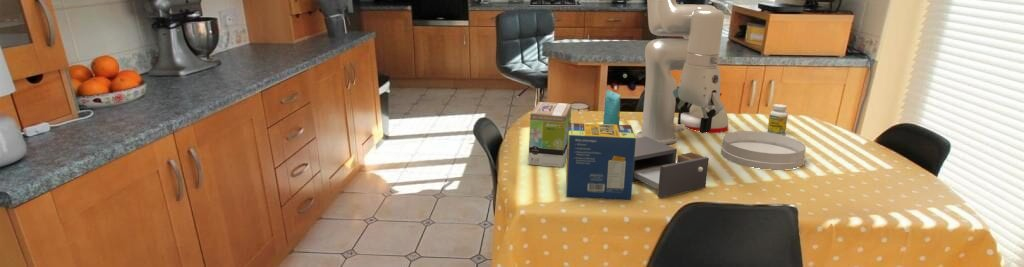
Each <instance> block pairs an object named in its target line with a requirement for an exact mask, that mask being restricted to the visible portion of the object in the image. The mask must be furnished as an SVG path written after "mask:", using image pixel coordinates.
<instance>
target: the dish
mask: <svg viewBox="0 0 1024 267" xmlns="http://www.w3.org/2000/svg"><path fill="white" fill-rule="evenodd" d="M720 147H721V148H720V155H721V156H722V157H723V159H726V160H727V161H729V162H731V163H734V164H736V165H739V164H740V165H739V166H742V165H744V166H743V167H746V166H747V168H750V167H754V168H753V169H755V168H760V169H759V170H763V169H771V170H770V171H774V170H784V171H786V170H785V169H793V168H797V167H800V166H801V165H803V166H804V164H803V163H805V158H806V156H805V153H806V150H807V149H806V147H807V146H806V145H805V143H803V142H802V141H800V140H798V139H796V138H792V137H789V136H786V135H779V134H773V133H768V132H767V131H755V130H754V131H752V130H741V131H740V130H738V131H733V132H732V131H730V132H728V133H725V134H724V135H723V136H722V144H721V146H720ZM800 168H801V167H800ZM793 170H794V169H793Z"/></svg>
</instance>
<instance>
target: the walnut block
mask: <svg viewBox="0 0 1024 267" xmlns="http://www.w3.org/2000/svg"><path fill="white" fill-rule="evenodd" d="M702 157H704V156H702V155H699V154H698V153H695V152H687V153H686V152H685V153H681V154H677V156H676V163H677V162H682V161H687V160H692V159H697V158H702Z"/></svg>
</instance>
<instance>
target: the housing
mask: <svg viewBox="0 0 1024 267" xmlns="http://www.w3.org/2000/svg"><path fill="white" fill-rule="evenodd" d="M635 138H636V143H635V156H634V168H633V176H634V171H635V170H640V169H645V168H650V167H655V166H660V165H665V164H672V163H677V155H678V154H677V153H678V149H677V148H676V147H673V146H671V145H669V144H663V143H661V142H658V141H655V140H653V139H650V138H648V137H641V138H637V137H635ZM639 182H641V181H640V180H638V179H636V178H634V177H633V181H632V184H635V183H639Z"/></svg>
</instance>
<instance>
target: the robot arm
mask: <svg viewBox="0 0 1024 267" xmlns="http://www.w3.org/2000/svg"><path fill="white" fill-rule="evenodd" d="M646 1H647V22H648V29H649V32H650V33H651V34H653V36H661V37H683V38H656V39H652V40H651V41H649V42H648V43H647V44H646V46H645V50H644V60H645V86H644V87H645V88H644V97H643V98H644V101H643V111H642V112H643V113H642V125H641V126H642V127H641V131H639V132H636V136H635V138H641V137H648V138H650V139H653V140H655V141H658V142H661V143H663V144H666V145H671V144H672V145H673V144H675V143H676V142H677V141H678V136H677V135H676V133H677V132H683V131H684V130H685V125H683V124H681V123H680V118H681V113H684V112H689V111H690V110H689V109H690V104H691V105H692V104H693V105H696V106H700V107H701V108H702V112H703V116H704V117H703V118H701V124H700V132H699V133H701V134H707V133H706V132H710V130H711V123H712V117H715V115H716V114H718V113H719V111H721V110H722V109H723V108H724V107H725V105H724V103H723V101H722V99H720V98H721V96H720V93H721V89H722V88H721V86H722V77H721V76H722V75H721V74H722V73H721V67H719V66H718V65H720V64H721V62H722V61H721V58H719V57H720V50H721V43H722V41H721V40H722V34H723V29H724V28H723V27H724V21H725V13H724V12H723V11H722V9H721V10H720V9H717V8H716V7H715V6H714V5H710V4H694V3H693V4H687V3H686V4H684V3H683V4H682V3H680V4H678V3H677V0H646ZM672 71H681V74H680V78H679V83H677V80H676V79H675V78H674V76H673V75H672V74H671V72H672ZM678 84H679V85H678ZM721 101H722V102H721ZM722 103H723V104H722ZM676 105H677V106H676ZM713 106H715V107H714V108H713ZM676 107H677V109H678V117H677V125H676V124H674V123H675V113H676V112H675V111H676ZM707 108H708V110H709V112H708V111H707Z"/></svg>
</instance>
